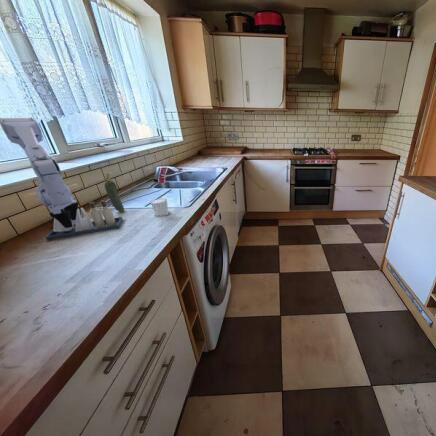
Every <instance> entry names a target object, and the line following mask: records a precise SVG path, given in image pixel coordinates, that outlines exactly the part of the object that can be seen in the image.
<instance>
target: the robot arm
mask: <svg viewBox="0 0 436 436" xmlns="http://www.w3.org/2000/svg"><path fill="white" fill-rule="evenodd" d="M0 127H1V130H2V131H3V133H4V134H5V136H6V138H7V139H8V141H10V143H12V144H16V145H18V146H19V147H20V148H22V150H23V151H24V153H25V155H26V156H27V158H28V160H29V162H30V166H31V168H32V170H33V173H34V174H35V176H36V177H37V178H38V180H39V181H40V184H39V185H37V186H36V187H35V193H36V196H37V197H38V199H39V202H40V203H41V205H42V206H43V207H45V208H46V207H47V208H48V209H49V211H50V213H49V216H50V217H51V218H53V219H54V218H55V219H56V220H58V221H59V222H60V223H61V224H62V225H63V226H64V227H65V228H70V227H72V223H73V224H76V213H77V209H79V204H80V203H79V201H78V200H76V199H75V198H74V195H73V192H72V191H71V190H70V188H69V187H68V185H67V184H66V183H65V181H64V179H63V177H62V171H61V168H60V166H59V163H58V162H57V160H56V159H55V158H54V157H53V156H51V154H50V153H49V151H48V150H47V148H46V146H44V145H42V144H39V143H41V142H42V141H44V140H43V137H44V136H43V134H42V130H41V127H40V125H39V123H38V121H37V119H36V118H35V117H33V116H30V117H0ZM80 215H81V218H82V214H80ZM52 228H54V225H53V226H52Z"/></svg>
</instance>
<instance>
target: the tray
mask: <svg viewBox="0 0 436 436" xmlns="http://www.w3.org/2000/svg"><path fill="white" fill-rule="evenodd" d="M114 219H115V221H116V224H117V225H114V226H107V224H106V221H105V219H104V222H105V224H106V227H101V228H96V225H95V223H94V220H91V222H92V223H93V225H94V227H95V228H91V229H89V230H83V231H77V232H76V231H75V228H73V229H72V230H71V231H68V232H54V228H53V229H52V230H51V231H50V232H49V233H48V234H47V235H46V236H45V239H46V241H53V240H58V239H59V240H60V239H65V238H71V237H72V238H73V237H77V236H82V235H88V234H95V233H100V232H107V231H113V230H119V229H120V227H121V225H122V224H123V221H124V218H123V217H122V216H119V217H118V216H117V217H114ZM73 225H74V227H75V224H73ZM82 229H83V228H82Z"/></svg>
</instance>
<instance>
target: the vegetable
mask: <svg viewBox="0 0 436 436" xmlns="http://www.w3.org/2000/svg"><path fill="white" fill-rule="evenodd" d="M117 187H118V186H117V184H116V182H114V181H113V180H112V177H111V174H110V172H108V171H107V172H106V174H105V182H104V189H105V192H106V194H107V197H108V198H109V200H110V203H111V204H112V207H113V208H114V209H115V211H117V212H119V213H123V212H124V211H125V207H124V205H123V203H122V201H121V199H120V197H119V195H118V188H117Z"/></svg>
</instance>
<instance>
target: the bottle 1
mask: <svg viewBox="0 0 436 436" xmlns="http://www.w3.org/2000/svg"><path fill="white" fill-rule="evenodd" d="M89 206H90V210H89V213H90V216H91V218H92V221H94V223H95V225H96V228H101V227H106V224H105V222H104V220H105V219H104V216H103V214H102V211H101V209H100V208H98V207H97V206H96V205H95V202H94V201H89Z"/></svg>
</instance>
